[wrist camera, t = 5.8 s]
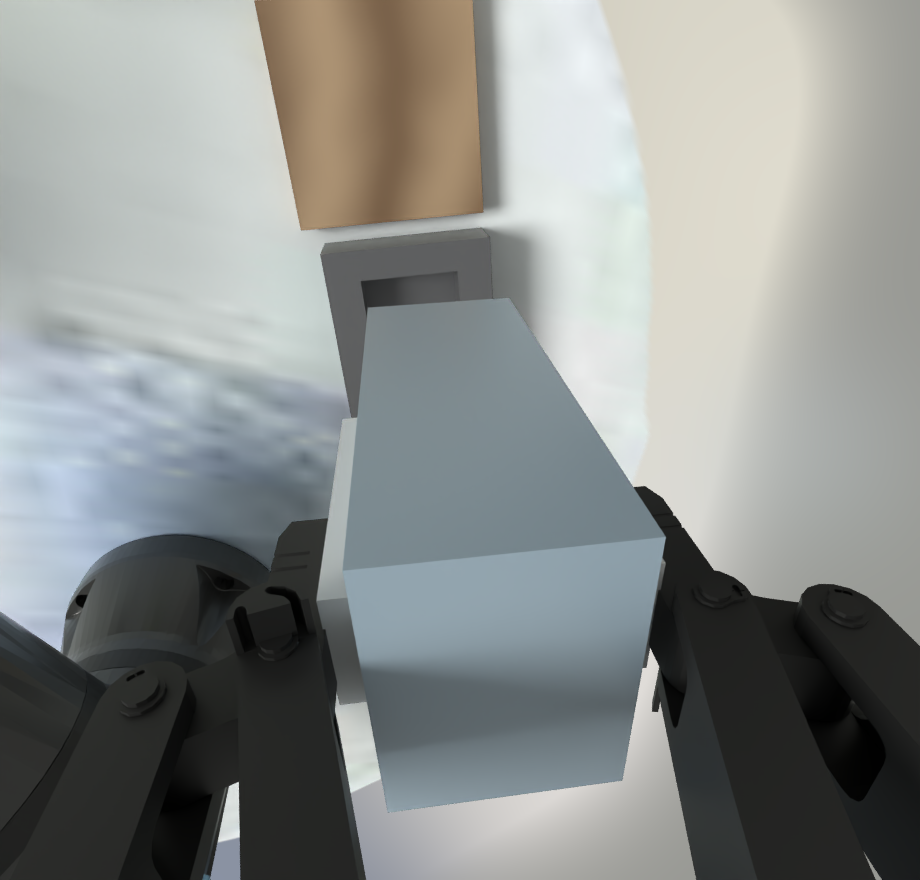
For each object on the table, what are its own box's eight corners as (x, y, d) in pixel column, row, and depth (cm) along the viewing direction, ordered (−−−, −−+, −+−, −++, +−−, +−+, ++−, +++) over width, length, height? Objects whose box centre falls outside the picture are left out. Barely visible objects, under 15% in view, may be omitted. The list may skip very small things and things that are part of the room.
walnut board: (303, 226, 32) (301, 230, 31) (259, 5, 27) (254, 0, 26) (480, 209, 33) (483, 212, 32) (468, -10, 28) (471, -15, 27)
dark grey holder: (368, 477, 41) (367, 509, 37) (324, 243, 33) (318, 257, 29) (493, 461, 41) (503, 490, 38) (481, 227, 33) (492, 239, 30)
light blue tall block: (387, 468, 21) (387, 812, 11) (368, 307, 18) (342, 570, 8) (508, 456, 21) (622, 780, 11) (509, 297, 18) (666, 537, 8)
